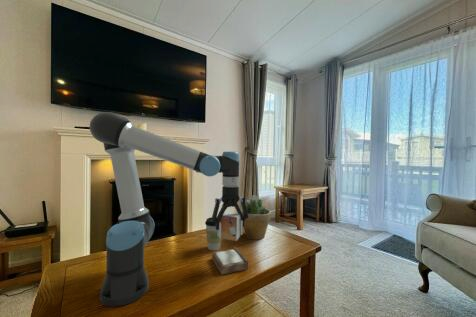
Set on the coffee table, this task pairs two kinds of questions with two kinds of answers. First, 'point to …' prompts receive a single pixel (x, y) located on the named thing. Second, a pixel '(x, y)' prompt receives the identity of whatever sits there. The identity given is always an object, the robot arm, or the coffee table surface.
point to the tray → (230, 261)
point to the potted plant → (256, 218)
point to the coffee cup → (212, 235)
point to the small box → (230, 226)
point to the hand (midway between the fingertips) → (230, 235)
